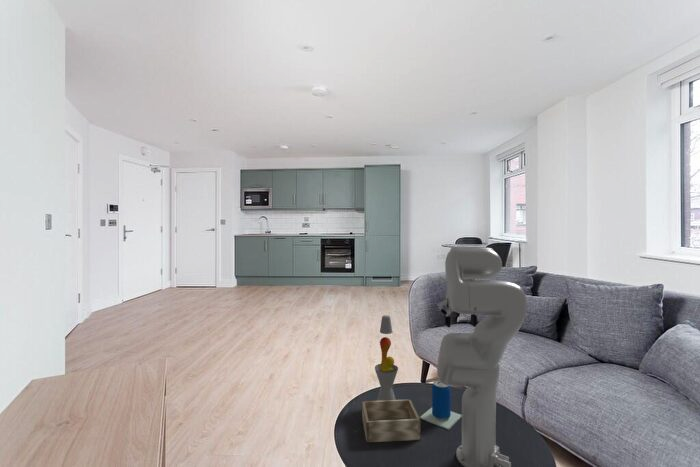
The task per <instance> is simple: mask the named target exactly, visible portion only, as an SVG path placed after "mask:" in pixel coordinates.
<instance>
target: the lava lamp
mask: <svg viewBox="0 0 700 467" xmlns="http://www.w3.org/2000/svg"><path fill="white" fill-rule="evenodd" d="M391 320H392V319H391V316H390V315H386V314H385V315H382V316H381V321H380V328H379V333H380V334H382V335H389V334H393V328H392V327H393V326H392V321H391ZM379 346H380V350H381V362H380V363H379V364H376V365H375V366H374V371H375V374H376V377H377V379H378V383H379V385H380V387H379V388H380V389H379V391H378V392H379V393H378V395H377V398H376V401H381V400H397V399H396V396H395V394H394V393H395V392H394V389H393V386H394V382H395V379H396V377H397V373H398V371H399V367H398V366H397V365H396V364H395V359H394V358H393V357H391V356H388V352H389V349H390V348H391V346H392V341H391V339H390V338H389V337H387V336H385V337H381V339H380V340H379Z"/></svg>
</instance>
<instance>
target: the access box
mask: <svg viewBox="0 0 700 467" xmlns="http://www.w3.org/2000/svg"><path fill="white" fill-rule="evenodd" d="M361 417H362V418H361V420H362V425H363V430H364V435H365V436H364V437H365V440H366V443H382V442H399V441H401V442H402V441H420V440H421V419H420V416H419V414H418V412H417V409H416V408H415V406H414V404H413V402H412V400H411V399H406V398H405V399H396V400H381V401H377V400H362V401H361Z"/></svg>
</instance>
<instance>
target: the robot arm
mask: <svg viewBox="0 0 700 467" xmlns="http://www.w3.org/2000/svg"><path fill="white" fill-rule="evenodd" d="M444 265H445V266H444V267H445V268H444V269H445V277H446V278H445V279H446V284H447V285H446V290H445V292H446V293H445V299H444V300H442V301H440V302H438V303H437V307H438V309H439V311H440V312H441V313H442V315H444V324H445V327H446V328H451V316H450V315H451V314H452V312H455V313H457V314H461V315H470V325H471V326H472V327H474V330H473V331H472V332H469V333H468V332H450V333H446V334H445V335H444V336H443V337H442V339H441V342H440V347H439V351H438V356H437V357H438V358H437V361H436V362H437V363H436V372H437V377H438V380H440V381H441V382H442V383H443V384H445V385H448V386H450V387H467V388H466V389H465V390H464V392H463V394H462V397H461V415H462V417H461V445H459V446H458V447H457V448H456V451H455V453H456V459H457V461H458V462H459V463H460V464H461V466H463V467H512V462H511V461H510V457H509V456H507V455H504V454H501V452H500V447H499V446H498V445H497V443H496V442H497V441H496V440H497V438H496V437H497V428H496V426H497V421H496V420H497V417H496V416H497V392H498V391H497V390H498V385H499V384H498V383H499V380H500V365H499V363H500V362H501V359H502V357H503V356H504V353H505V351H506V350H507V347H508V344H509V343H510V341H511V340H512V339H513V338H514V337H515V336H516V335H517V333H518V332H519V330H520V329H521V327H522V325H523V323H524V321H525V319H526V318H525V317H526V312H527V305H528V304H527V297H526V292H525V290H523V288H522V287H521V286H519V285H518V284H516V283H513V282H512V281H506V280H497V279H496V280H492V279H493V278H495V277H497V275H499V273H500V272H501V271H502V269H503V261H502V258H501V256H500V255H499V254H498V253H497V252H496V251H495V250H494V249H493V248H492V247H479V246H474V247H472V246H471V247H470V246H469V247H468V246H453V247H451V248H450V250H449V251H448V253H447V254H446V257H445V261H444ZM490 279H491V280H490ZM444 306H445V308H446V309H445V308H444ZM479 315H482V316H483V315H487V316H486V317H484V318H483V319H481V320H479V322H478V316H479Z"/></svg>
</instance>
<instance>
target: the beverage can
mask: <svg viewBox="0 0 700 467" xmlns="http://www.w3.org/2000/svg"><path fill="white" fill-rule="evenodd" d="M451 394H452V392H451V386H448V385H445V384H443V383H442V382H441V381H440V379H436V380H434V381H433V382H432V386H431V408H432V414H433V416H435V418H437V419H440V420H446V419H448V418H449V417H450V416H451V411H452V410H451V402H452V401H451V400H452V398H451Z"/></svg>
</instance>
